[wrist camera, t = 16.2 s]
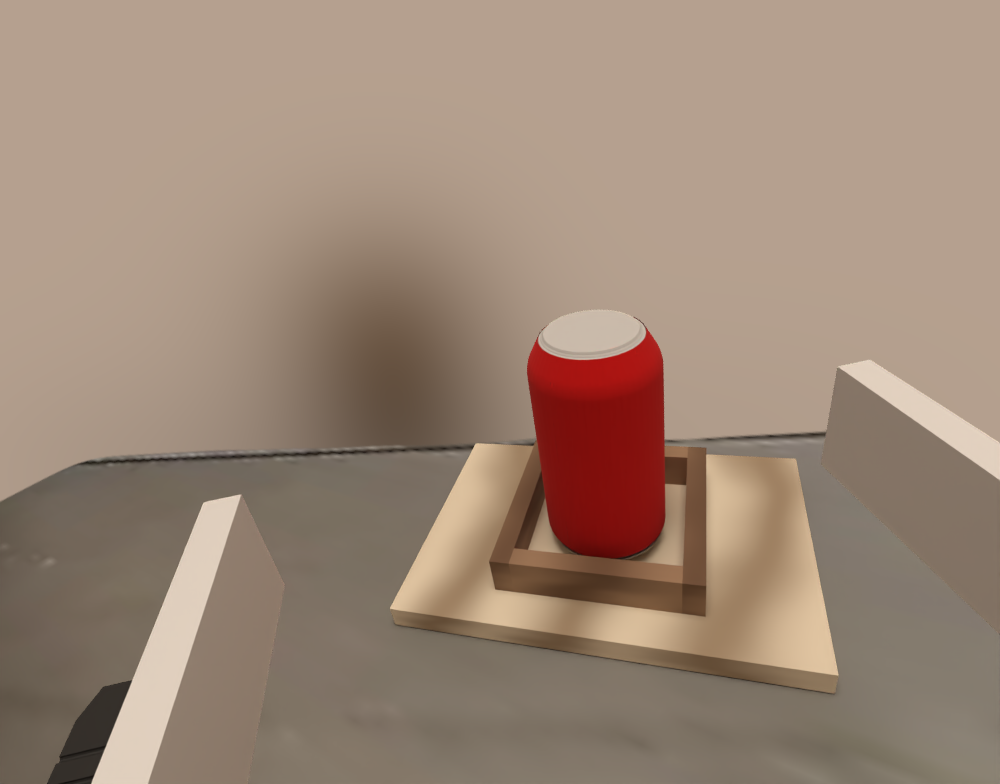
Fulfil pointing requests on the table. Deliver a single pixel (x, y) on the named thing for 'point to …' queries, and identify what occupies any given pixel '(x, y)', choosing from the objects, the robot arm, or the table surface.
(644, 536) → the beverage can
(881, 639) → the table surface
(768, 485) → the collar board
